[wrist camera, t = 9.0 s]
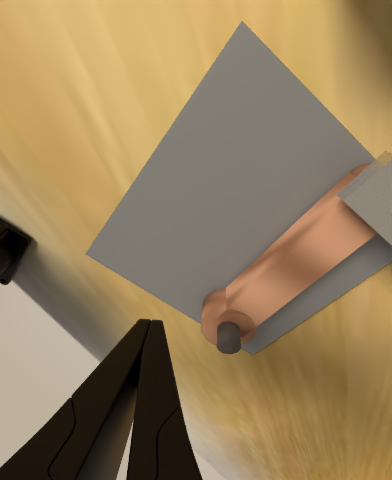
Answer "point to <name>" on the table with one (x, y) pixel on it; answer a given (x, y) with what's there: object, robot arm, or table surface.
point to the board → (236, 190)
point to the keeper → (373, 195)
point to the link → (285, 269)
